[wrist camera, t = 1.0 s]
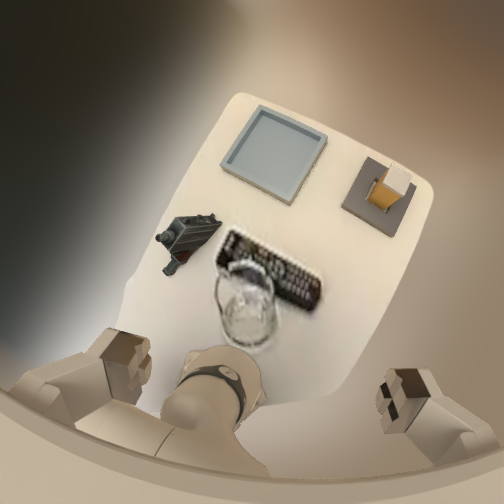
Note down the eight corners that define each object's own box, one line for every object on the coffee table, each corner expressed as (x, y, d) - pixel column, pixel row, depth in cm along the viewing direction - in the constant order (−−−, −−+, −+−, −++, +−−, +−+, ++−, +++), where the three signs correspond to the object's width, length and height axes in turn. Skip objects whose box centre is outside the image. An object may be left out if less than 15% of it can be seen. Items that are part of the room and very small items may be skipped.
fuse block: (390, 237, 56) (393, 236, 54) (341, 207, 58) (342, 204, 56) (413, 189, 56) (416, 186, 54) (365, 159, 58) (367, 156, 56)
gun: (122, 279, 49) (165, 213, 44) (173, 264, 65) (213, 212, 60) (131, 290, 49) (176, 225, 44) (181, 273, 64) (222, 221, 60)
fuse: (383, 211, 57) (404, 195, 44) (366, 200, 57) (383, 182, 44) (391, 194, 57) (413, 175, 44) (374, 184, 57) (392, 162, 44)
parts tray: (290, 205, 60) (289, 201, 56) (223, 170, 62) (219, 164, 59) (326, 142, 59) (328, 135, 56) (261, 112, 62) (259, 104, 58)
